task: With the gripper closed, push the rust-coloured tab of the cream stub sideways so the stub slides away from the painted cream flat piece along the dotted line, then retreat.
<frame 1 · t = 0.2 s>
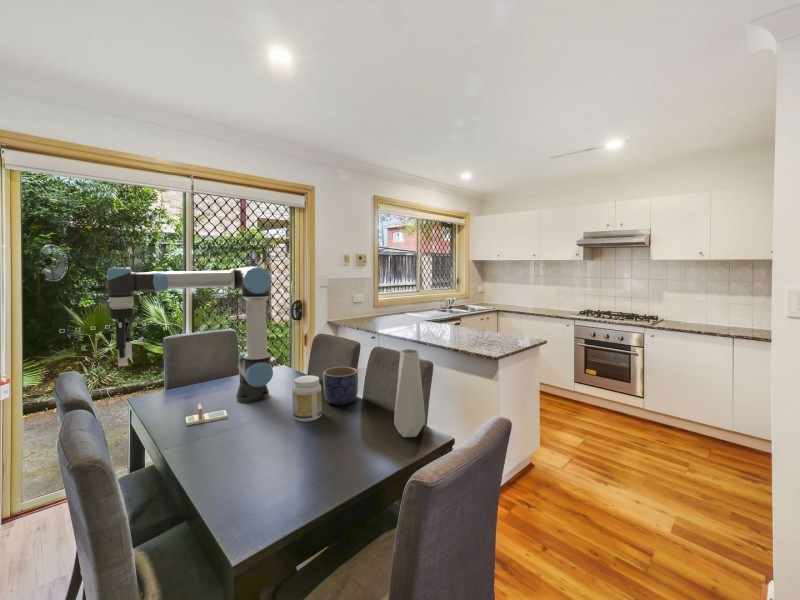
hand: (125, 361, 146), 28 cm above the table, fingers open, 13 cm apart
cream flat piece: (215, 417, 161), on the table
vase: (407, 434, 147), on the table
supplement tub: (307, 417, 162), on the table
planter: (341, 401, 181), on the table
stub: (194, 414, 157), point 3 cm above the table, slide at 0.0 cm
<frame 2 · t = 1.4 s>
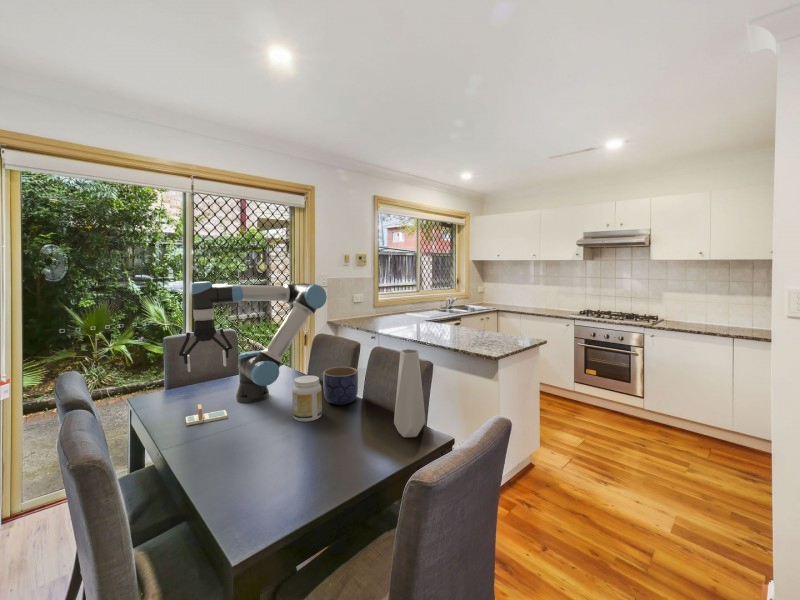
hand: (207, 368, 159), 22 cm above the table, fingers open, 13 cm apart
nothing on the table moved.
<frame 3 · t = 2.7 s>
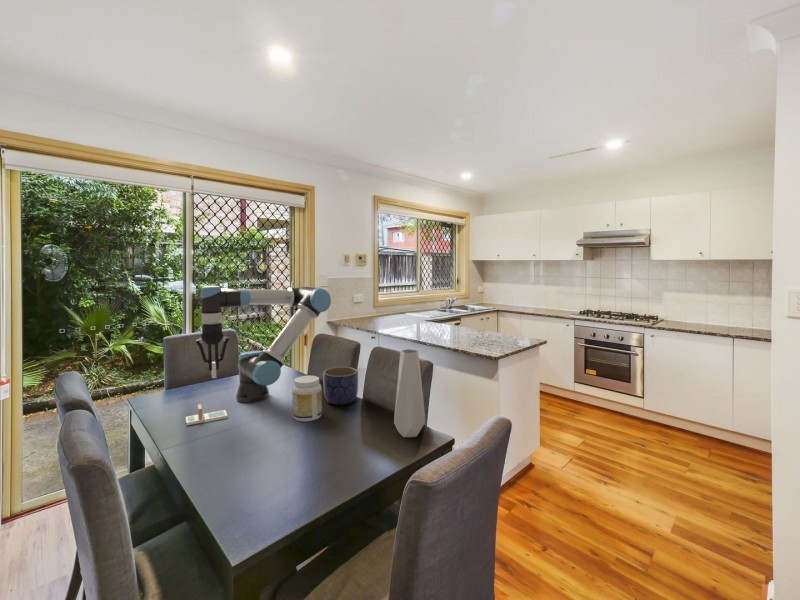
hand: (214, 377, 160), 18 cm above the table, fingers closed
nothing on the table moved.
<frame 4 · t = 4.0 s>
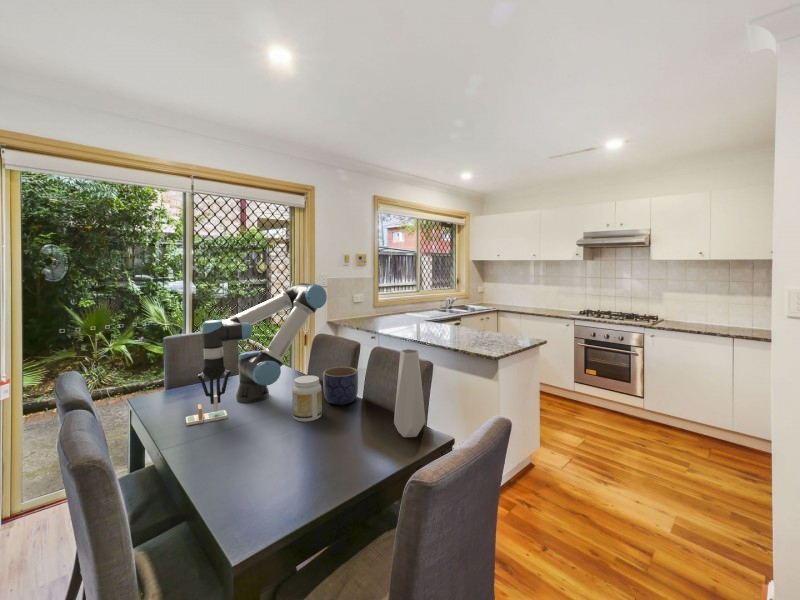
hand: (215, 410, 161), 3 cm above the table, fingers closed
nothing on the table moved.
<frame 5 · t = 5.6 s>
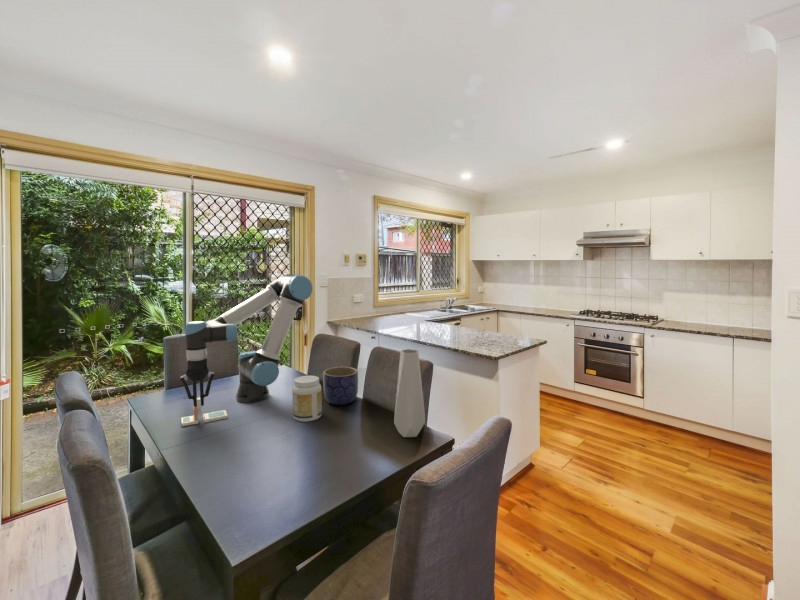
hand: (199, 413, 158), 3 cm above the table, fingers closed
stub: (189, 415, 156), point 3 cm above the table, slide at 1.7 cm, touching gripper
everything else where it was.
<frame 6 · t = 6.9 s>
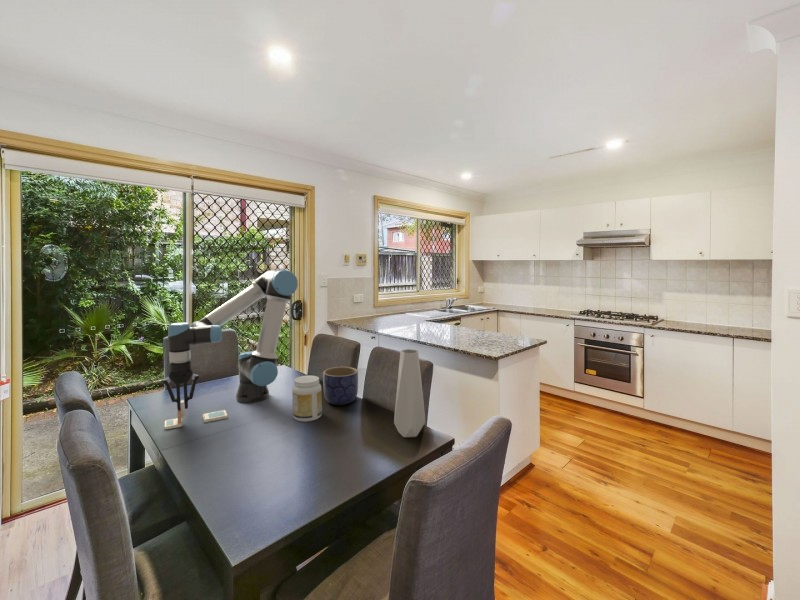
hand: (183, 416, 155), 3 cm above the table, fingers closed
stub: (173, 418, 153), point 3 cm above the table, slide at 7.5 cm, touching gripper
everything else where it was.
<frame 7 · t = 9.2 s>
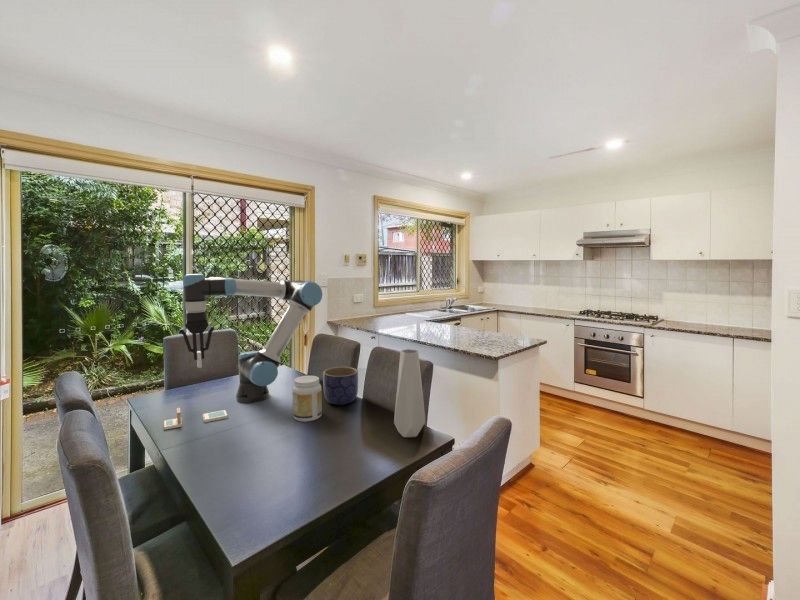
hand: (199, 366, 157), 23 cm above the table, fingers closed
stub: (172, 418, 153), point 3 cm above the table, slide at 7.7 cm
everything else where it was.
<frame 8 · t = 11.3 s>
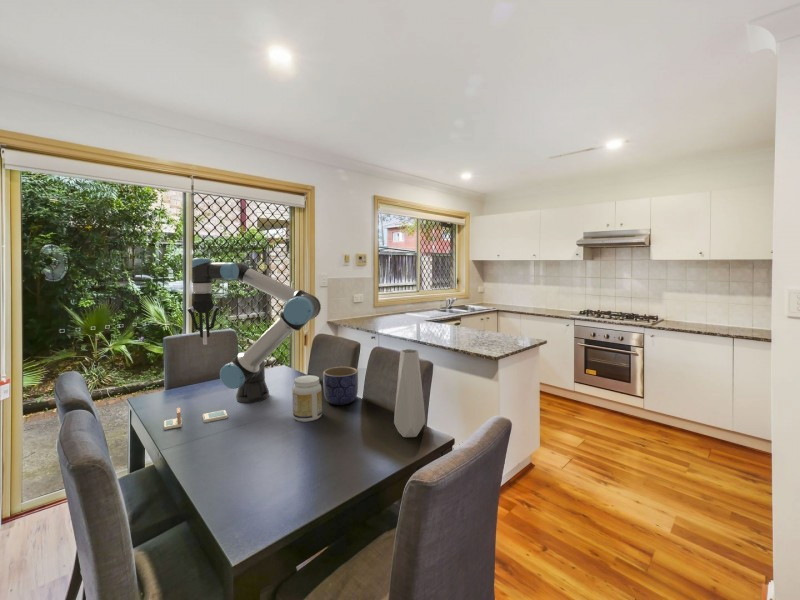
hand: (205, 344, 170), 29 cm above the table, fingers closed
nothing on the table moved.
at the end: stub slide at 7.7 cm; stub touching nothing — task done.
